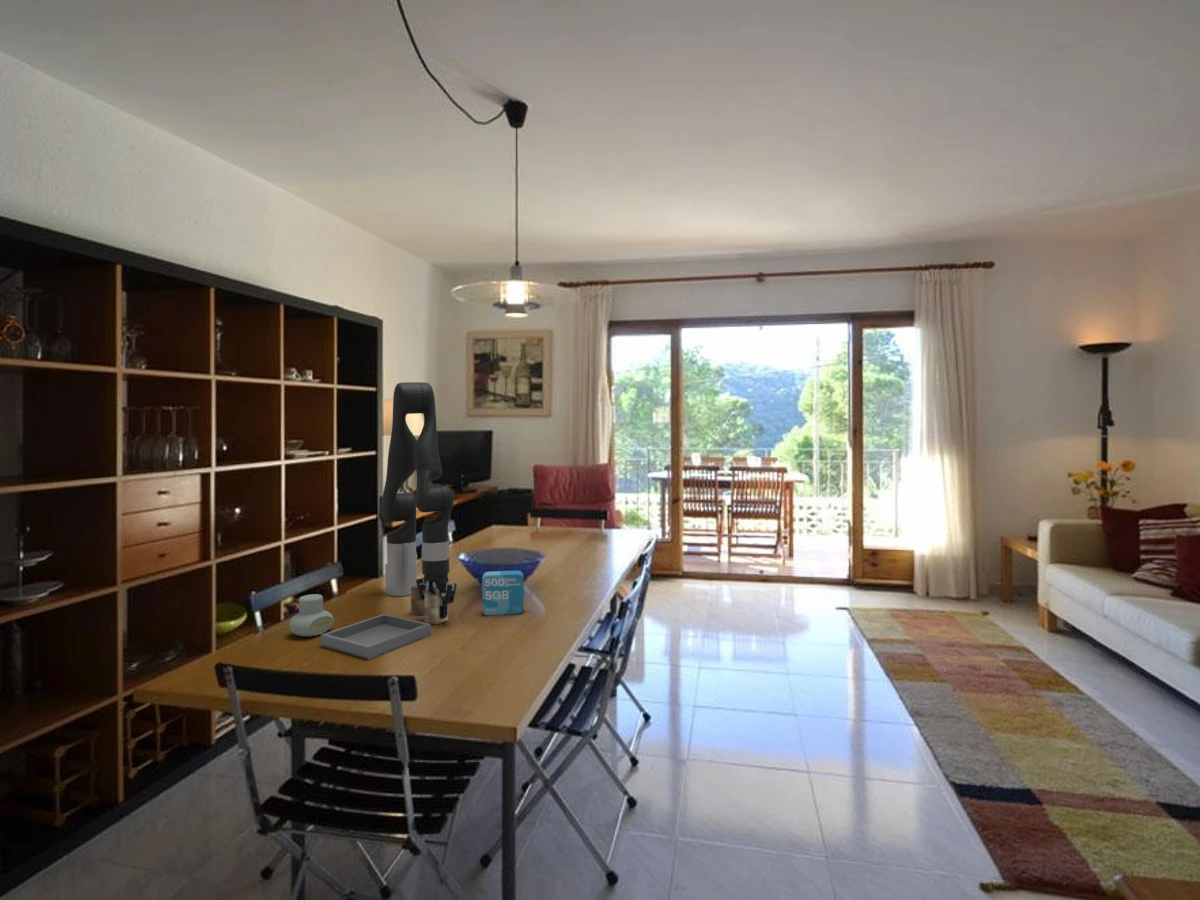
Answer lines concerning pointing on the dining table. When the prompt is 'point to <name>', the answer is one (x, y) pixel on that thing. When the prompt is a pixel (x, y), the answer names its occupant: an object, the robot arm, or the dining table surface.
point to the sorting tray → (375, 636)
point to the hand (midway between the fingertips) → (436, 616)
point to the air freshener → (311, 617)
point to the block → (433, 609)
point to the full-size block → (417, 602)
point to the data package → (502, 593)
